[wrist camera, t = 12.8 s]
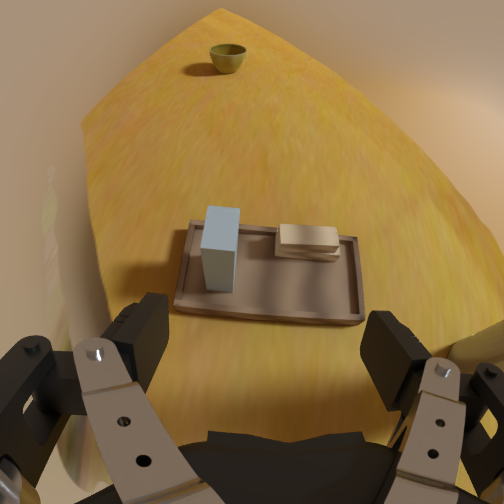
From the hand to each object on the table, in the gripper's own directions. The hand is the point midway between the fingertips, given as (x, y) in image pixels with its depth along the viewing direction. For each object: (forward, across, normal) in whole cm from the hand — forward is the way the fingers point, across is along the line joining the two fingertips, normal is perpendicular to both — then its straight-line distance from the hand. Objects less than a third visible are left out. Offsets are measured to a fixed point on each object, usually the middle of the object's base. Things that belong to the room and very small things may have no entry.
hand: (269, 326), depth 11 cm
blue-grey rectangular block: (+27, +4, +8) cm, 29 cm away
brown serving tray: (+29, -3, +9) cm, 30 cm away
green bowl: (+72, +11, -34) cm, 81 cm away
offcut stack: (+31, -7, +5) cm, 32 cm away
